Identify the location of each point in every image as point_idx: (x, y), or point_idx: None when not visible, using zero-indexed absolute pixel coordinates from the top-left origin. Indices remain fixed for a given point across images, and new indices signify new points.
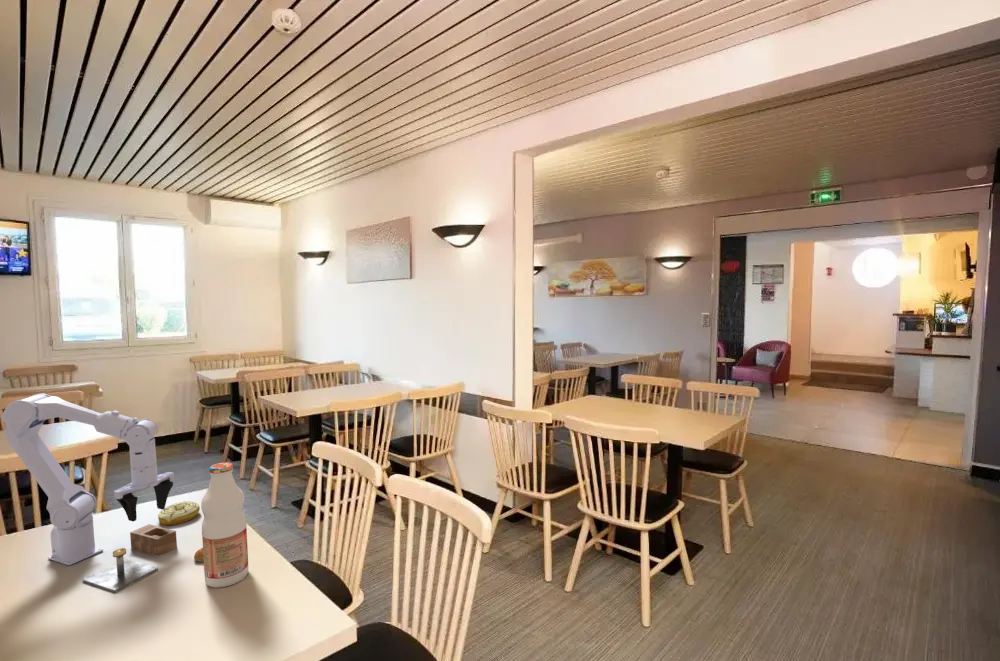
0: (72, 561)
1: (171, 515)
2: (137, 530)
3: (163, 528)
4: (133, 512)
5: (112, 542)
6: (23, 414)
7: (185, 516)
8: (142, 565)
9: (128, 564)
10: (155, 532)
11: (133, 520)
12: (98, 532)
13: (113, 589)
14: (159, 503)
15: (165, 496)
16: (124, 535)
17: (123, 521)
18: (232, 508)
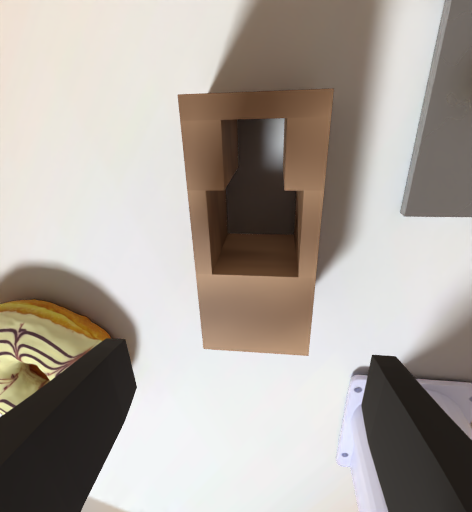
0: (466, 394)
1: (77, 358)
2: (278, 340)
3: (197, 225)
4: (459, 439)
5: (289, 397)
6: None
7: (38, 313)
8: (464, 33)
9: (460, 143)
10: (224, 262)
11: (401, 363)
12: (258, 475)
13: None
14: (106, 411)
15: (2, 440)
16: (237, 403)
17: (179, 470)
18: None
